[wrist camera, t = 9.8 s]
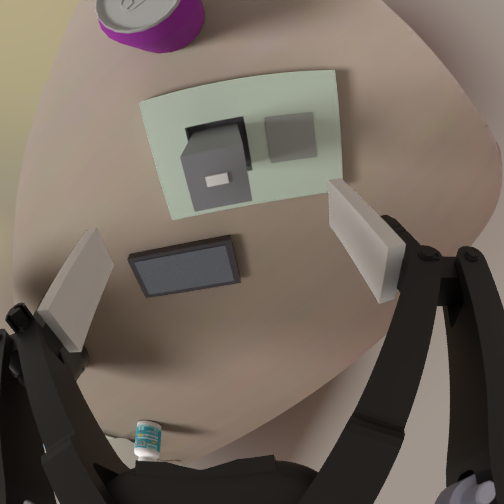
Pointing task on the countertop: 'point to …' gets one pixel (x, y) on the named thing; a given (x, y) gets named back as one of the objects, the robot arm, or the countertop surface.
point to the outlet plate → (253, 134)
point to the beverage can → (151, 22)
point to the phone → (186, 267)
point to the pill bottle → (147, 440)
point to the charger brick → (216, 167)
